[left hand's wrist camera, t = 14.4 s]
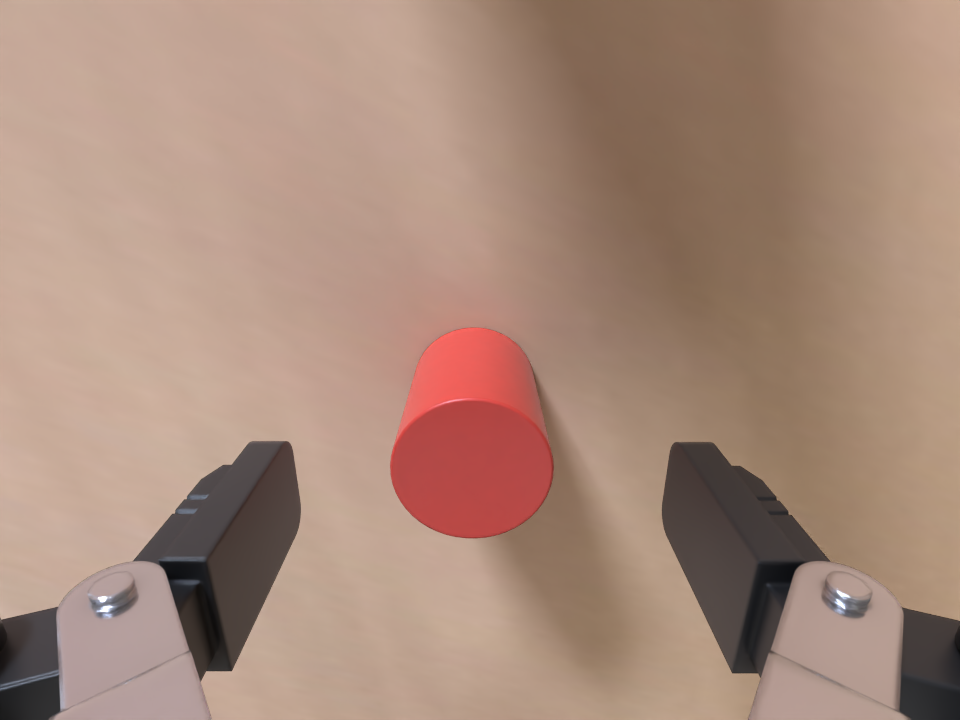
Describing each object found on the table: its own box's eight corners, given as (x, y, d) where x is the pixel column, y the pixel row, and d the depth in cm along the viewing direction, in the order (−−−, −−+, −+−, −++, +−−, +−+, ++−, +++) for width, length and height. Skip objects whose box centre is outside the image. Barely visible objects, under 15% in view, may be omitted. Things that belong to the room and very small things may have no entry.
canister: (416, 322, 16) (391, 392, 11) (540, 331, 16) (564, 404, 11) (412, 431, 17) (387, 534, 13) (526, 440, 17) (543, 544, 13)
